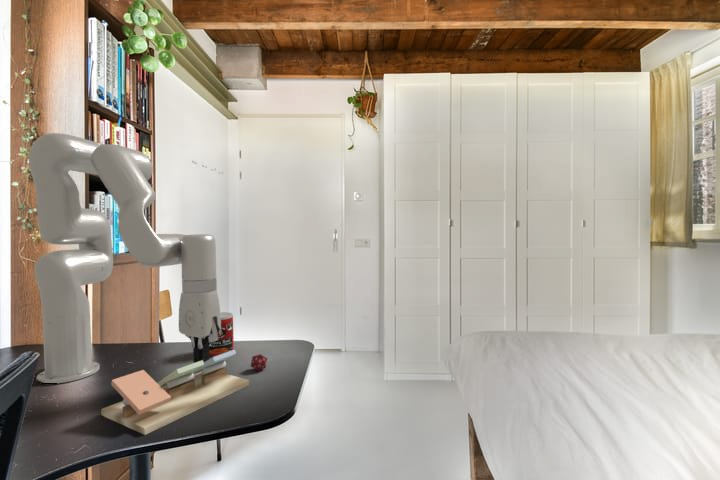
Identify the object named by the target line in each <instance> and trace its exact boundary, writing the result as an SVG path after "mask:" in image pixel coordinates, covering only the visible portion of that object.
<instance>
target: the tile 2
mask: <svg viewBox="0 0 720 480" xmlns="http://www.w3.org/2000/svg"><path fill="white" fill-rule="evenodd" d="M203 365H204V362H203V360H201V361H199V362H196V363H194V362H193V363H191V364H188V365H185V366H182V367H179V368H176V369H175V370H174V371H172V372H170V373H169V374H168V375H166V376H165V377H163V378H162V379H160V380H159V381H158V382H156V383H157V384H158V385H160V386H161V387H164V386H166V387H167V388H168V389H169V388H172V387H174V386H177V385H179V384H182V383H184V382H187V381H189V380H192V379H194V374H193V373H192V372H194V371H195V370H197V369H198V368H200V367H201V366H203Z"/></svg>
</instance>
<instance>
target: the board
mask: <svg viewBox="0 0 720 480" xmlns="http://www.w3.org/2000/svg"><path fill="white" fill-rule="evenodd" d="M227 370H228V369H227V367H226V366H225V367H222V368H220V369H217V370H215V371H212V372H210V373H207V374H205V375H204V374H203V373H202V371H201V372H198V373H196V374H194V379H192V380H189V381H187V382H184V383H182V384H179V385H177V386H174V387H172V388H169V389H168V388H167V387H166V386H164V387H162V388H163V389H164V390H165V391H166V392H167V393H168V394H169V395H170V396H171V401H170V402H168V403H165V404H163V405H161V406H158V407H156V408H154V409H151V410H149V411H147V412H144V413H142V414H140V415H139V414H138V413H137V412H136V411H135V410H134V409H133V408H132V407H131V406H130V405H126V406H125V405H124V403H123V400H122V401H119V402H117V403H114V404H111V405H108V406H106V407H103V408H101V409H100V412H101V413H100V414H101V416H103V417H104V418H106V419H109V420H111V421H113V422H116V423H117V424H120V425H122V426H124V427H127V428H128V429H130V430H133V431H135V432H137V433H140V434H142V435H144V436H146V435H148V434H150V433H152V432H154V431H156V430H158V429H161V428H162V427H163V428H164V427H165V426H167V425H169V424H171V423H174V422H175V421H177V420H179V419H182V418H184V417H185V416H188V415H190V414H192V413H194V412H196V411H198V410H200V409H203V408H205V407H207V406H209V405H211V404H213V403H215V402H217V401H219V400H221V399H223V398H225V397H227V396H230V395H231V394H233V393H235V392H238V391H240V390H242V389H243V388H246V387H248V386H250V380H249V379H247V378H243V377H239V376H235V375H232V374H228V371H227Z"/></svg>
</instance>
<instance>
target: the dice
mask: <svg viewBox="0 0 720 480" xmlns="http://www.w3.org/2000/svg"><path fill="white" fill-rule="evenodd" d="M267 361H268V357H266V356H264V355H262V354H261V353H259V354H257V355H253V356H252V357H251V362H250V367H251V368H253V369H254V370H256V371H262V370H263V369H266V367H267V363H268V362H267Z"/></svg>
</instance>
